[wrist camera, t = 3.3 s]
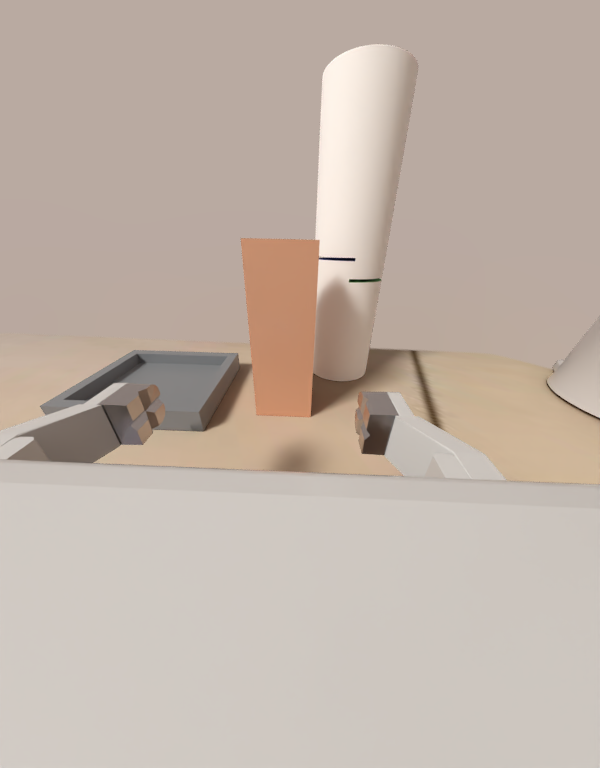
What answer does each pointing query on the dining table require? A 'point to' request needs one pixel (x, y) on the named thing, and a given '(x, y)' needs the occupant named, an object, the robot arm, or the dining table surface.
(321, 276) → the cylindrical container
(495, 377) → the dining table surface
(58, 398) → the tray
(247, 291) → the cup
